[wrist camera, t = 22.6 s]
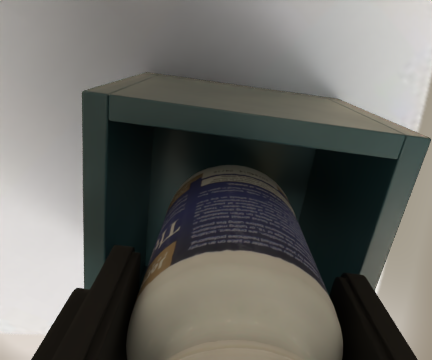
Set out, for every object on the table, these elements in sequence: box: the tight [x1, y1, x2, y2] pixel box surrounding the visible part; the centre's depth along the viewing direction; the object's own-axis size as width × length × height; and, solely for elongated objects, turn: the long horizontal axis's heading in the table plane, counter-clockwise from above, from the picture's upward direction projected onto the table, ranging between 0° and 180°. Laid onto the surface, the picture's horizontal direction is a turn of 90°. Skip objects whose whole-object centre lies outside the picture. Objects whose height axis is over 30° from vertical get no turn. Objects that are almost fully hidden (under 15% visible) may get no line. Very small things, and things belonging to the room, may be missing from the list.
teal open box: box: [82, 72, 431, 295], centre depth 16 cm, size 13×11×9 cm
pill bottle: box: [126, 165, 343, 360], centre depth 10 cm, size 5×5×10 cm
